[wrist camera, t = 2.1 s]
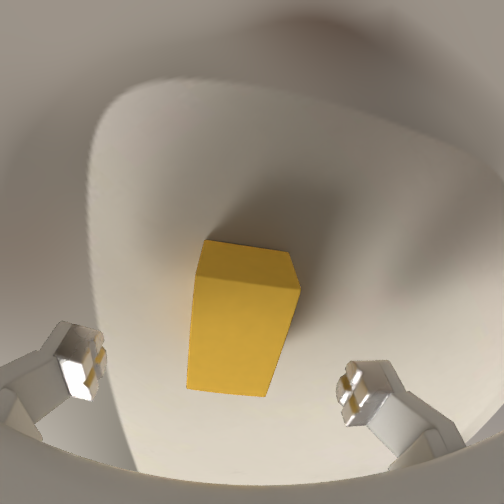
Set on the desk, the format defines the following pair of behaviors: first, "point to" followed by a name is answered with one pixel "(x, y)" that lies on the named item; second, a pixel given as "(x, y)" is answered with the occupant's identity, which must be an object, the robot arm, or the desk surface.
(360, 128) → the desk surface
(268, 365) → the sponge
